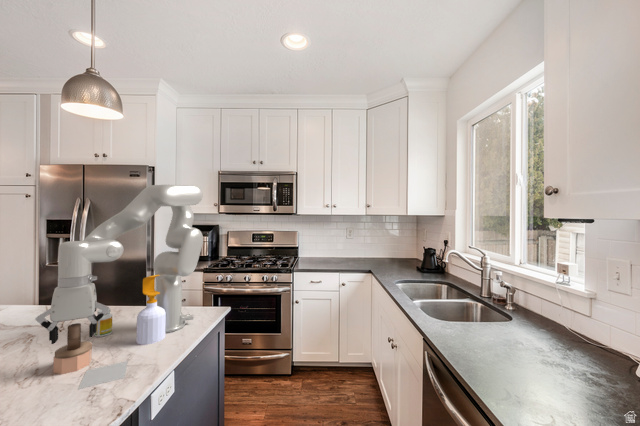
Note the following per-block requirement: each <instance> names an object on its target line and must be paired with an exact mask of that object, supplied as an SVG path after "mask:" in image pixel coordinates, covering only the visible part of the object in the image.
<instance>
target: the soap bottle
mask: <svg viewBox="0 0 640 426" xmlns="http://www.w3.org/2000/svg"><path fill="white" fill-rule="evenodd" d="M157 276H160V275H149V276H146V277H143V279H142V294H143V295H144V296H147V298H148V300H146V307H144V308H143V309H142V310H141V311H139V312H138V313H137V315H136V344H137V345H141V346H143V345H144V346H145V345H152V344H155V343H158V342H161V341H163V340H164V339H165V338H166V333H165V323H166V312H165V310H164V309H163V308H162V307H159V306H157V300H156V295H157V294H160V292H157V291H156V277H157Z"/></svg>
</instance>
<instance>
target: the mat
mask: <svg viewBox="0 0 640 426" xmlns="http://www.w3.org/2000/svg"><path fill="white" fill-rule="evenodd" d="M128 362H129V360H125V361H121V362H117V363H113V364H112V363H111V364H109V365H105V366H104V365H103V366H98V367H94V368H90V369H87V370H86V371H85V373H84V375H83V378H82V380H81V382H80V384H79V386H78V388H77V390H81V389H85V388H90V387H93V386H98V385H100V384H105V383H109V382H113V381H117V380H121V379H125V377H126V372H127V366H128Z"/></svg>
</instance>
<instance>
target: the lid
mask: <svg viewBox="0 0 640 426" xmlns="http://www.w3.org/2000/svg"><path fill="white" fill-rule="evenodd" d="M81 332H82V324H81V323H79V322H75V323H72V324H69V325H67V342H66V343H67V345H63V346H61V347H59V348H58V349H56V350H55V351H54V356H53V358H54V357H55V358H57V359H65V358H71V357H75V356H78V355H81V354H84V353H86V352H88V351H89V350H90V349H91V348H92V349H93V343H92V342H91V341H81V339H82V337H81V336H82V335H81V334H82V333H81Z"/></svg>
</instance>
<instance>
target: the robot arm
mask: <svg viewBox="0 0 640 426" xmlns="http://www.w3.org/2000/svg"><path fill="white" fill-rule="evenodd" d="M202 199H203V191H202V189H200V187H198V186H197V185H194V184H190V185H189V184H151V185H149V186H148V185H147V187H145V188H143V190H141V192H140V193H139V194H138V195H137V196H135V197H134V199H133V200H132V201H130V203H129V204H127V205H126V207H124V208H123V210H121V211H119V212H118V213H116V214H115V215H113V216H111V217H110V218H109V219H107V220H105V221H103V222H101V224H99V225H98V226H96V228H94V229H93V230H92V231H90V233H89V234H88V235H87V236H85V238H84V239H83V240H71V241H63V242H62V243H60V244H59V246H58V261H57V262H58V263H57V265H58V267H57V274H58V275H57V286H56V287H55V288H54V289H53V290H54V291H53V294H52V299H51V305H50V308H49V309H47V310H45V311H43V312H42V313H40V314H39V315H37V316H36V317H35V319H34V320H35V321H37V323H39V324H40V326H41V327H43V328H44V329H46V330H47V331H48V341H49V342H51V345H55V344H56V343H57V341H58V340H59V327H58V326H57V325H58V324H59V323H60V322H67V321H74V320H80V319H81V320H82V319H87V320H88V321H89V322H90V324H89V329H88V330H89V334H88V336H89V338H93V337H94V336H95V335H94V333H96V331H97V321H99V320H100V319H101V318H102V317H103V316H104V314H105V313H106V312H107V311H108V309H109V308H110V307H109V306H108V305H105V304H103V303H100V302H98V301H97V289H96V285H95V283H94V282H93V281H97V280H98V276H97V275H93V273H92V264H93V263H111V262H115V261H116V260H119V258H121V257H122V255H123V254H124V251H125V250H124V249H125V248H124V246H123V244H122V243H121V242H120V241H118V240H116V239H117V238H119V237H121V236H122V235H124V234H126V233H128V232H131V231H133V230H137V229H139V228H141V227H143V226H145V225H146V224H147V223H148V221H150V219H151V218H152V217H153V216H154V215H155V214H156V213H157V212H158V210H159V209H160V208H161V207H170V208H171V212H172V214H171V215H172V217H171V220H170V224H169V227H168V230H167V232H166V235H165V244H166V246H167V247H168V248H171V249H176V250H179V251H171V250H170V251H169V250H168V251H167V250H166V251H163V252H160V253H159V254H158V255H156V257H155V259H154V262H153V270H154V274H155V275H160V276H157V277H155V291H157V292H160V294H157V295H156V296H155V299H156V300H157V306H159V307H162V308H163V309H164V310H165V312H166V323H165V334H167V333H172V332H176V331H178V330H180V329H182V328H184V327H185V326H186V321H191V320H194V314H191V313H187V314H183V312H182V311H183V310H182V304H183V303H182V302H183V301H182V299H183V298H182V295H183V282H182V281H183V280H182V277H188V276H190V275H192V274H193V273H194V271H195V270H196V268H197V267H198V266H197V265H198V262H199V259H200V255H201V251H202V247H203V243H204V236H203V233H202V231H201V230H200V229H198V228H196V227H193V224H194V221H195V220H194V219H195V216H194V215H195V214H194V211H193V208H192V207H191V206H196V205H198V204H199V203H201V201H202ZM98 310H102V311H101V313H100V314H97V315H96V314H95V313H96V312H97V311H98ZM190 314H191V315H190ZM47 316H49V320H47V319H46V317H47Z"/></svg>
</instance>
